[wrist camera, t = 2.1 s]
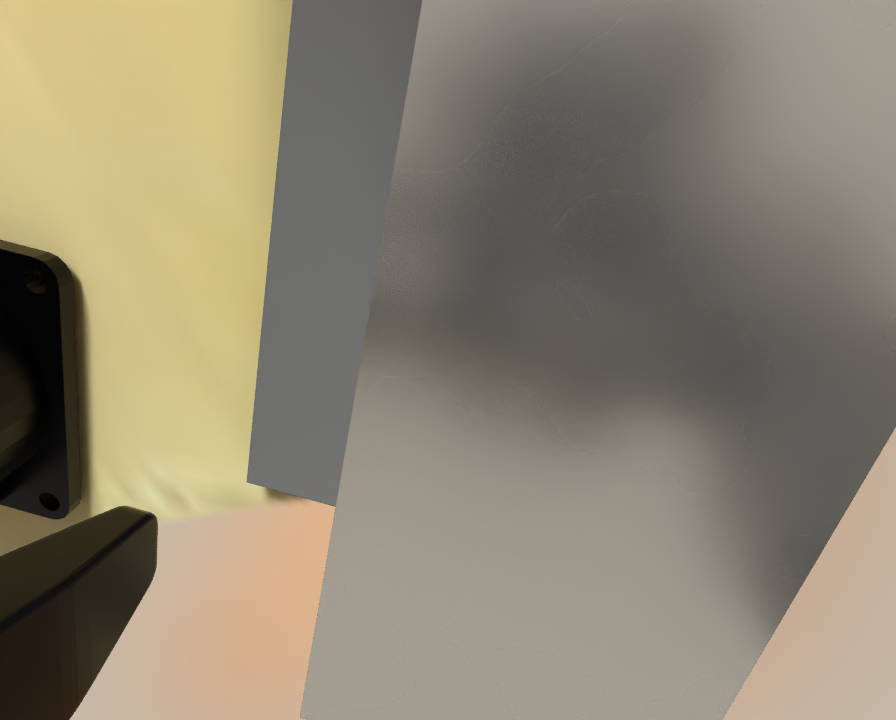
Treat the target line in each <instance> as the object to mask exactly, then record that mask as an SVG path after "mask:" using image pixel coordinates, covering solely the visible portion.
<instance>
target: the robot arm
mask: <svg viewBox="0 0 896 720" xmlns="http://www.w3.org/2000/svg"><path fill="white" fill-rule="evenodd" d="M38 271H39V272H41V273H42V274H43V275H44V277H45V278H46V280H47V284H48V286H46V285H44V283H43V282H42V281H41V280H40V278H39V275H38ZM80 500H81V483H80V457H79V430H78V404H77V377H76V351H75V325H74V298H73V280H72V276H71V272H70V270H69V269H68V267H67V265H66V264H65V263H64V262H63V261H62V260H61V259H60V258H59V257H58V256H55V255H53V254H51V253H49V252H45V251H41V250H38V249H34V248H30V247H26V246H22V245H18V244H14V243H11V242H7V241H3V240H0V504H1V505H4V506H8V507H11V508H15V509H18V510H22V511H25V512H29V513H32V514H36V515H40V516H43V517H47V518H50V519H62V518H65V517H66V516H67V515H68V514H69V513H70V512H71V511H72V510H74V509H75V508H76V507H77V506H78V505H79V504H80ZM157 531H158V522H157V518H156V516H155V515H154V514H152V513H151V512H147V511H144V510H140V509H136V508H133V507H129V506H119V507H116V508H114V509H111V510H109V511H106V512H104V513H102V514H99V515H97V516H95V517H92V518H90V519H88V520H85V521H83V522H80V523H78V524H76V525H73V526H71V527H69V528H66V529H64V530H62V531H59V532H57V533H54V534H52V535H50V536H47V537H45V538H43V539H40V540H38V541H36V542H33V543H31V544H28V545H26V546H24V547H21V548H19V549H17V550H14V551H12V552H10V553H7V554H5V555H2V556H0V720H69V719H70V718H71V717H72V715H73V714H74V712H75V711H76V709H77V708H78V706H79V705H80V703H81V702H82V700H83V698H84V697H85V695H86V694H87V692H88V690H89V689H90V687H91V685H92V684H93V682H94V680H95V679H96V677H97V675H98V673H99V672H100V670H101V668H102V667H103V665H104V663H105V661H106V660H107V658H108V656H109V655H110V653H111V651H112V649H113V648H114V646H115V644H116V643H117V641H118V639H119V637H120V636H121V634H122V632H123V631H124V629H125V627H126V626H127V624H128V622H129V620H130V619H131V617H132V615H133V614H134V612H135V610H136V608H137V606H138V605H139V603H140V601H141V600H142V598H143V596H144V595H145V593H146V591H147V589H148V588H149V586H150V584H151V582H152V580H153V577H154V574H155V571H156V565H157V535H158V532H157Z"/></svg>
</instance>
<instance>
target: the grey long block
mask: <svg viewBox="0 0 896 720" xmlns="http://www.w3.org/2000/svg"><path fill="white" fill-rule="evenodd" d="M895 427H896V0H422V6H421V12H420V18H419V23H418V29H417V35H416V41H415V47H414V53H413V59H412V64H411V70H410V76H409V82H408V88H407V94H406V99H405V105H404V111H403V117H402V123H401V129H400V135H399V140H398V146H397V152H396V158H395V164H394V170H393V175H392V181H391V187H390V193H389V199H388V205H387V211H386V216H385V222H384V228H383V234H382V240H381V246H380V251H379V257H378V263H377V269H376V275H375V281H374V287H373V292H372V298H371V304H370V310H369V316H368V322H367V327H366V333H365V339H364V345H363V351H362V357H361V363H360V368H359V374H358V380H357V386H356V392H355V398H354V403H353V409H352V415H351V421H350V427H349V433H348V439H347V444H346V450H345V456H344V462H343V468H342V474H341V479H340V485H339V491H338V497H337V503H336V509H335V515H334V521H333V527H332V533H331V538H330V544H329V550H328V556H327V561H326V567H325V573H324V579H323V585H322V591H321V597H320V603H319V608H318V614H317V620H316V626H315V632H314V637H313V643H312V649H311V655H310V661H309V667H308V672H307V678H306V684H305V690H304V696H303V702H302V708H301V713H300V718H302V719H306V720H722V719H723V718H724V716H725V714H726V712H727V711H728V709H729V708H730V706H731V704H732V703H733V701H734V699H735V697H736V696H737V694H738V692H739V691H740V689H741V687H742V686H743V684H744V682H745V681H746V679H747V677H748V676H749V674H750V672H751V670H752V669H753V667H754V665H755V664H756V662H757V660H758V659H759V657H760V655H761V654H762V652H763V650H764V648H765V647H766V645H767V643H768V642H769V640H770V638H771V637H772V635H773V633H774V632H775V630H776V628H777V626H778V625H779V623H780V622H781V620H782V618H783V616H784V615H785V613H786V611H787V610H788V608H789V606H790V605H791V603H792V601H793V599H794V598H795V596H796V594H797V593H798V591H799V589H800V588H801V586H802V584H803V582H804V581H805V579H806V578H807V576H808V574H809V573H810V570H811V569H812V567H813V566H814V564H815V562H816V561H817V559H818V557H819V556H820V554H821V552H822V550H823V549H824V547H825V545H826V544H827V542H828V540H829V539H830V537H831V535H832V534H833V532H834V530H835V528H836V527H837V525H838V524H839V522H840V520H841V518H842V517H843V515H844V513H845V511H846V510H847V508H848V507H849V505H850V503H851V502H852V500H853V498H854V497H855V495H856V493H857V491H858V490H859V488H860V486H861V485H862V483H863V481H864V479H865V478H866V476H867V475H868V473H869V471H870V469H871V467H872V466H873V464H874V463H875V461H876V459H877V458H878V456H879V454H880V453H881V451H882V449H883V447H884V446H885V444H886V442H887V441H888V439H889V437H890V436H891V434H892V432H893V431H894V429H895Z"/></svg>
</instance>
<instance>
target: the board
mask: <svg viewBox="0 0 896 720" xmlns="http://www.w3.org/2000/svg"><path fill="white" fill-rule="evenodd" d="M421 6H422V0H293V6H292V16H291V26H290V37H289V47H288V58H287V68H286V79H285V89H284V99H283V110H282V120H281V131H280V141H279V152H278V162H277V172H276V183H275V193H274V204H273V214H272V225H271V235H270V245H269V256H268V266H267V277H266V287H265V297H264V308H263V318H262V329H261V339H260V350H259V360H258V370H257V381H256V391H255V402H254V412H253V423H252V433H251V443H250V454H249V464H248V475H247V482H248V483H251V484H255V485H259V486H262V487H266V488H269V489H273V490H277V491H280V492H284V493H288V494H291V495H295V496H299V497H302V498H306V499H309V500H313V501H317V502H320V503H324V504H328V505H331V506H335V507H336V503H337V497H338V491H339V485H340V479H341V474H342V468H343V462H344V456H345V450H346V444H347V439H348V433H349V427H350V421H351V415H352V409H353V403H354V398H355V392H356V386H357V380H358V374H359V368H360V363H361V357H362V351H363V345H364V339H365V333H366V327H367V322H368V316H369V310H370V304H371V298H372V292H373V287H374V281H375V275H376V269H377V263H378V257H379V251H380V246H381V240H382V234H383V228H384V222H385V216H386V211H387V205H388V199H389V193H390V187H391V181H392V175H393V170H394V164H395V158H396V152H397V146H398V140H399V135H400V129H401V123H402V117H403V111H404V105H405V99H406V94H407V88H408V82H409V76H410V70H411V64H412V59H413V53H414V47H415V41H416V35H417V29H418V23H419V18H420V12H421Z"/></svg>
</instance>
